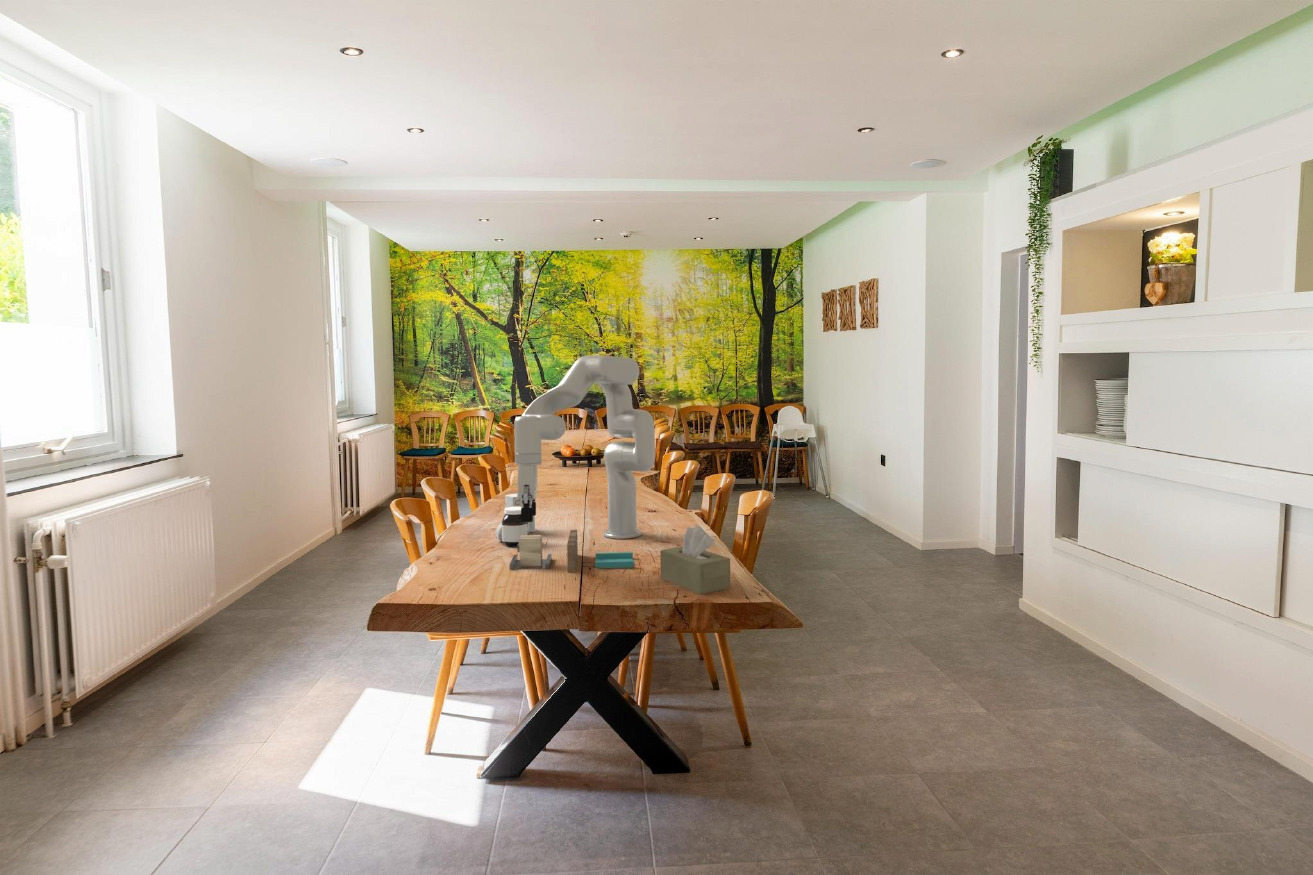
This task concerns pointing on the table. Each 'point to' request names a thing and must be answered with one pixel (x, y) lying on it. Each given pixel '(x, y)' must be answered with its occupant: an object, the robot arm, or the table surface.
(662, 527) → the table surface
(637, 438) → the robot arm
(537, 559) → the block
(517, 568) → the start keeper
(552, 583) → the table surface
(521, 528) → the spread jar
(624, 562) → the teal square tray
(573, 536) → the door panel
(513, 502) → the small box
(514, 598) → the table surface
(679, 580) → the tissue box
